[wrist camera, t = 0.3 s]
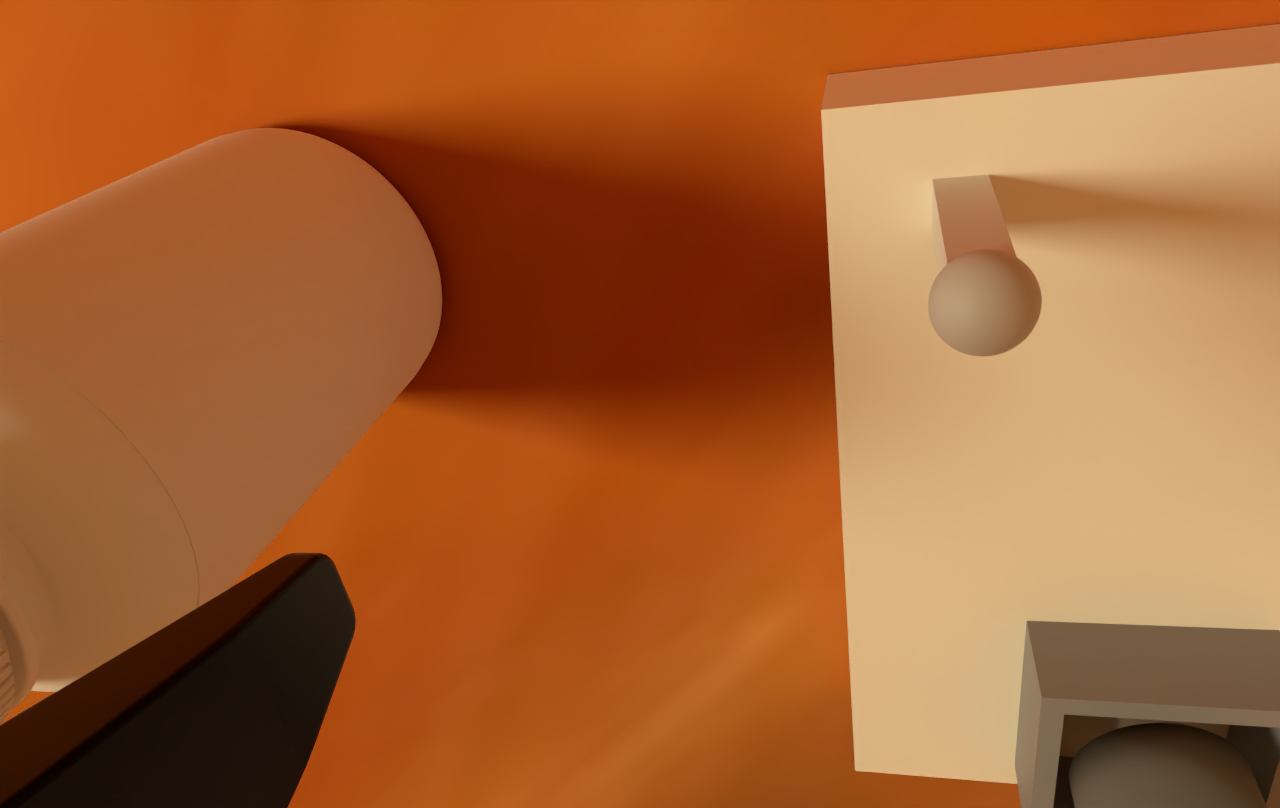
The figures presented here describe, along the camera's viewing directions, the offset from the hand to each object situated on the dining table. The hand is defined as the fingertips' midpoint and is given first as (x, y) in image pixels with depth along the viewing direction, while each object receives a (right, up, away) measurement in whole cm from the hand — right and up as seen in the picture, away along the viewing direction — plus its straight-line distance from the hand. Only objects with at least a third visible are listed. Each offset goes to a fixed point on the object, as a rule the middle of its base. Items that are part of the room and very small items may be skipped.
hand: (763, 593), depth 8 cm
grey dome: (+11, -7, +13) cm, 18 cm away
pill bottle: (-10, +6, +17) cm, 20 cm away
